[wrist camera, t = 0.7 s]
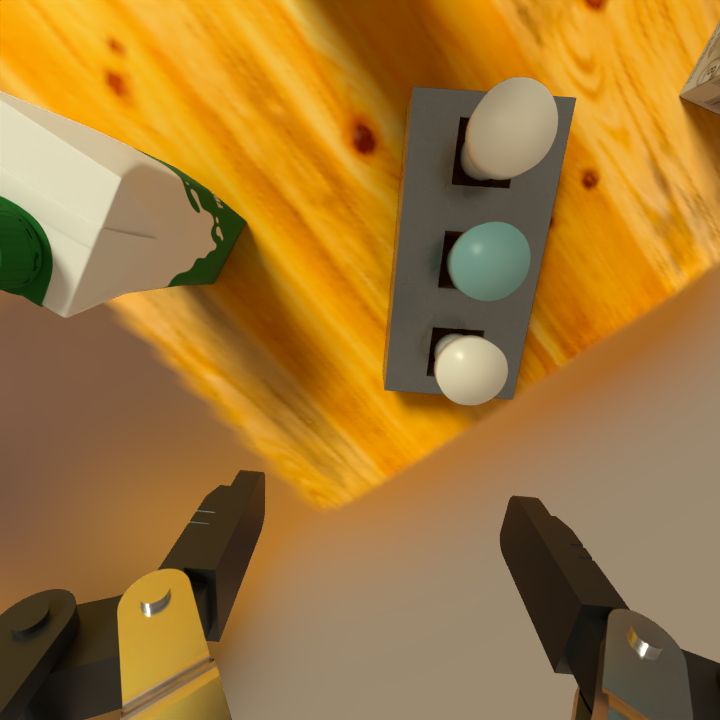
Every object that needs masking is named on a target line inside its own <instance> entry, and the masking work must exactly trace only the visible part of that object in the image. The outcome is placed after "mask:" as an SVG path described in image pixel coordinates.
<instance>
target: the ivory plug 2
mask: <svg viewBox="0 0 720 720" xmlns="http://www.w3.org/2000/svg"><path fill="white" fill-rule="evenodd" d="M557 127H558V111H557V107H556V103H555V100H554V98H553V96H552V94H551V93H550V92H549V90H548V89H547V88H546V87H545V86H544V85H543V84H541V83H540V82H538V81H536V80H534V79H531V78H527V77H515V78H510V79H507V80H504V81H502V82H500V83H499V84H497V85H496V86H494V87H493V88H492V89H491V90H490V91H489V92H488V93H487V94H486V95H485V96H484V98H483V99H482V100H481V102H480V103H479V104H478V106H477V107H476V109H475V110H474V112H473V113H472V115H471V117H470V120H469V122H468V125H467V129H466V136H465V142H464V144H463V146H462V149H461V153H460V163H461V167H462V169H463V171H464V173H465V174H466V175H467V176H468V177H470V178H471V179H473V180H476V181H486V180H489V179H496V180H505V179H510V178H513V177H516V176H518V175H520V174H522V173H523V172H525V171H527V170H529V169H531V168H532V167H534V166H535V165H536V164H538V163H539V162H540V161H541V160H542V159H543V158H544V156H545V155H546V154H547V153H548V151H549V149H550V148H551V146H552V144H553V142H554V139H555V136H556V132H557Z"/></svg>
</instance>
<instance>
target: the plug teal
mask: <svg viewBox="0 0 720 720" xmlns="http://www.w3.org/2000/svg"><path fill="white" fill-rule="evenodd" d="M529 266H530V248H529V245H528V242H527V240H526V238H525V237H524V235H523V234H522V233H521V232H520V231H519V230H518V229H517V228H515V227H514V226H512V225H510V224H507V223H504V222H488V223H485V224H481V225H478V226H475V227H473V228H471V229H469V230H467V231H466V232H464V233H463V234H462V235H461V236H460V237H459V238H458V239H457V241H456V242H455V244H454V245H453V247H452V248H451V249H450V251H449V253H448V255H447V258H446V268H447V272H448V274H449V275H450V278H451V280H452V282H453V284H454V285H455V287H456V288H457V289H458V290H459V291H460V292H462V293H463V294H465V295H467V296H469V297H471V298H474V299H477V300H481V301H494V300H499V299H501V298H504V297H506V296H508V295H510V294H511V293H512V292H514V291H515V290H516V289H517V288H518V287H519V286H520V285H521V283H522V282H523V281H524V279H525V277H526V275H527V273H528V270H529Z"/></svg>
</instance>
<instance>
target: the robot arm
mask: <svg viewBox="0 0 720 720" xmlns="http://www.w3.org/2000/svg"><path fill="white" fill-rule="evenodd" d="M264 515H265V474H264V472H256V471H244V470H240V471H239V473H238V474H237V476H236V478H235V479H234V481H233V483H232V485H231V486H224V485H220V486H219V487H217V488H216V489H215V490H214V491H212V492H211V493H210V494H208V495H207V496H206V497H205V499H204V500H203V502H202V503H201V505H200V506H199V508H198V511H197V512H196V513H195V514H194V516H193V517H192V519H191V520H190V523H189V524H188V525H187V527H186V528H185V529H184V531H183V533H182V534H181V535H180V537H179V539H178V540H177V542H176V543H175V545H174V546H173V548H172V549H171V551H170V552H169V554H168V555H167V557H166V558H165V560H164V561H163V563H162V565H161V566H160V567H159V569H158V570H157V571H154V572H152V573H149V574H147V575H145V576H144V577H142V578H140V579H139V580H138V581H136V582H135V583H134V584H133V585H132V586H131V587H130V588H129V589H128V590H127V591H126V592H125V594H123V595H120V596H116V597H112V598H108V599H103V600H98V601H93V602H88V603H83V604H79V605H77V604H76V600H75V597H74V595H73V594H72V593H70V592H69V591H66V590H61V589H53V590H47V591H43V592H40V593H37V594H34V595H31V596H30V597H27V598H25V599H23V600H21V601H20V602H18V603H16V604H15V605H14V606H12V607H10V608H9V609H8V610H6V611H5V612H4V613H3V614H1V616H0V720H84V719H88V718H91V717H94V716H98V715H101V714H104V713H108V712H111V711H114V710H117V709H121V708H123V711H122V712H121V720H232V719H231V715H230V711H229V708H228V704H227V701H226V697H225V693H224V690H223V687H222V682H221V679H220V675H219V672H218V669H217V665H216V663H215V661H214V659H211V658H210V655H209V651H208V648H207V644H206V641H216V642H219V641H220V638H221V636H222V633H223V630H224V628H225V625H226V622H227V620H228V617H229V614H230V612H231V609H232V607H233V604H234V601H235V599H236V596H237V593H238V590H239V588H240V585H241V583H242V580H243V577H244V575H245V572H246V569H247V567H248V564H249V561H250V559H251V556H252V554H253V551H254V548H255V546H256V543H257V541H258V538H259V535H260V533H261V530H262V526H263V521H264ZM500 546H501V551H502V554H503V557H504V559H505V561H506V564H507V566H508V568H509V570H510V573H511V575H512V577H513V579H514V582H515V584H516V586H517V588H518V591H519V593H520V595H521V598H522V599H523V602H524V604H525V606H526V609H527V611H528V613H529V616H530V618H531V620H532V623H533V624H534V627H535V629H536V632H537V634H538V636H539V638H540V641H541V643H542V645H543V647H544V650H545V652H546V654H547V656H548V659H549V661H550V663H551V665H552V668H553V670H554V672H555V673H562V674H573V675H574V677H575V679H576V681H577V683H578V687H577V689H576V692H575V696H574V703H573V709H572V716H571V720H720V663H717V662H715V661H712V660H709V659H707V658H704V657H701V656H699V655H696V654H693V653H691V652H688V651H685V650H683V649H680V647H679V646H678V645H677V643H676V642H675V641H674V640H673V639H672V637H671V636H670V635H669V634H668V633H667V632H666V631H665V630H664V629H662V628H661V627H660V626H659V625H658V624H656V623H655V622H653V621H652V620H650V619H649V618H647V617H645V616H643V615H641V614H639V613H637V612H634V611H631V610H630V609H629V608H628V606H627V605H626V604H625V602H624V601H623V599H622V598H621V597H620V596H619V594H618V593H617V591H616V590H615V588H614V587H613V586H612V584H611V583H610V582H609V580H608V579H607V578H606V576H605V575H604V574H603V572H602V571H601V569H600V568H599V567H598V565H597V564H596V563H595V561H593V560H592V557H591V556H590V554H589V553H588V551H587V550H586V549H585V548H583V545H582V543H581V542H580V541H579V539H578V538H577V536H576V535H575V534H574V532H573V531H572V530H571V529H570V528H569V527H568V526H567V525H566V524H564V523H563V522H562V521H561V520H560V519H558V518H557V517H556V516H551V515H550V514H549V512H548V511H547V509H546V508H545V506H544V505H543V504H542V502H541V501H540V500H539V499H538V498H533V497H523V496H512V497H511V498H510V500H509V503H508V507H507V511H506V514H505V518H504V521H503V525H502V529H501V533H500Z"/></svg>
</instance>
